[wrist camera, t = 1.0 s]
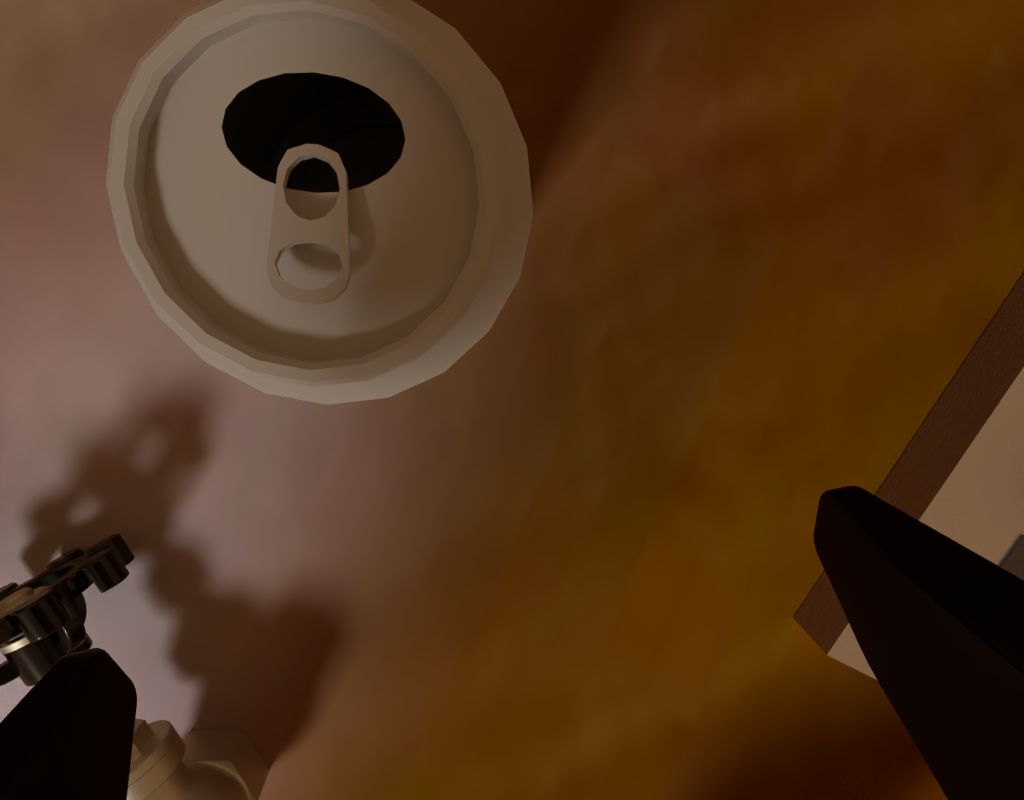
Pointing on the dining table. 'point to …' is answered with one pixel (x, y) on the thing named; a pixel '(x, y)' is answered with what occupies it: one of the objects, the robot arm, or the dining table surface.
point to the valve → (156, 746)
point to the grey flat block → (955, 472)
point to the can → (320, 193)
